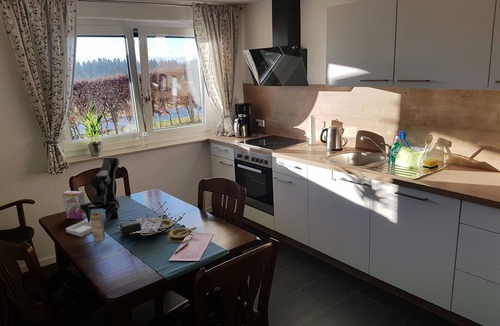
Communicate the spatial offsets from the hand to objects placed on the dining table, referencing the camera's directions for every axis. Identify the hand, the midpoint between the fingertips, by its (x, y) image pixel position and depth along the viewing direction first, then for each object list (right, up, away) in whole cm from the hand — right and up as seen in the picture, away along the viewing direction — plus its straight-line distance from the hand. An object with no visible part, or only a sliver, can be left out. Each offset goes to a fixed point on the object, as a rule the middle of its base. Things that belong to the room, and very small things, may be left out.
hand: (97, 222), depth 200 cm
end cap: (+16, -8, +5) cm, 19 cm away
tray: (-13, -6, +13) cm, 19 cm away
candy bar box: (-25, -2, +31) cm, 40 cm away
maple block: (0, -9, +1) cm, 9 cm away
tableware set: (+38, -7, +7) cm, 39 cm away
